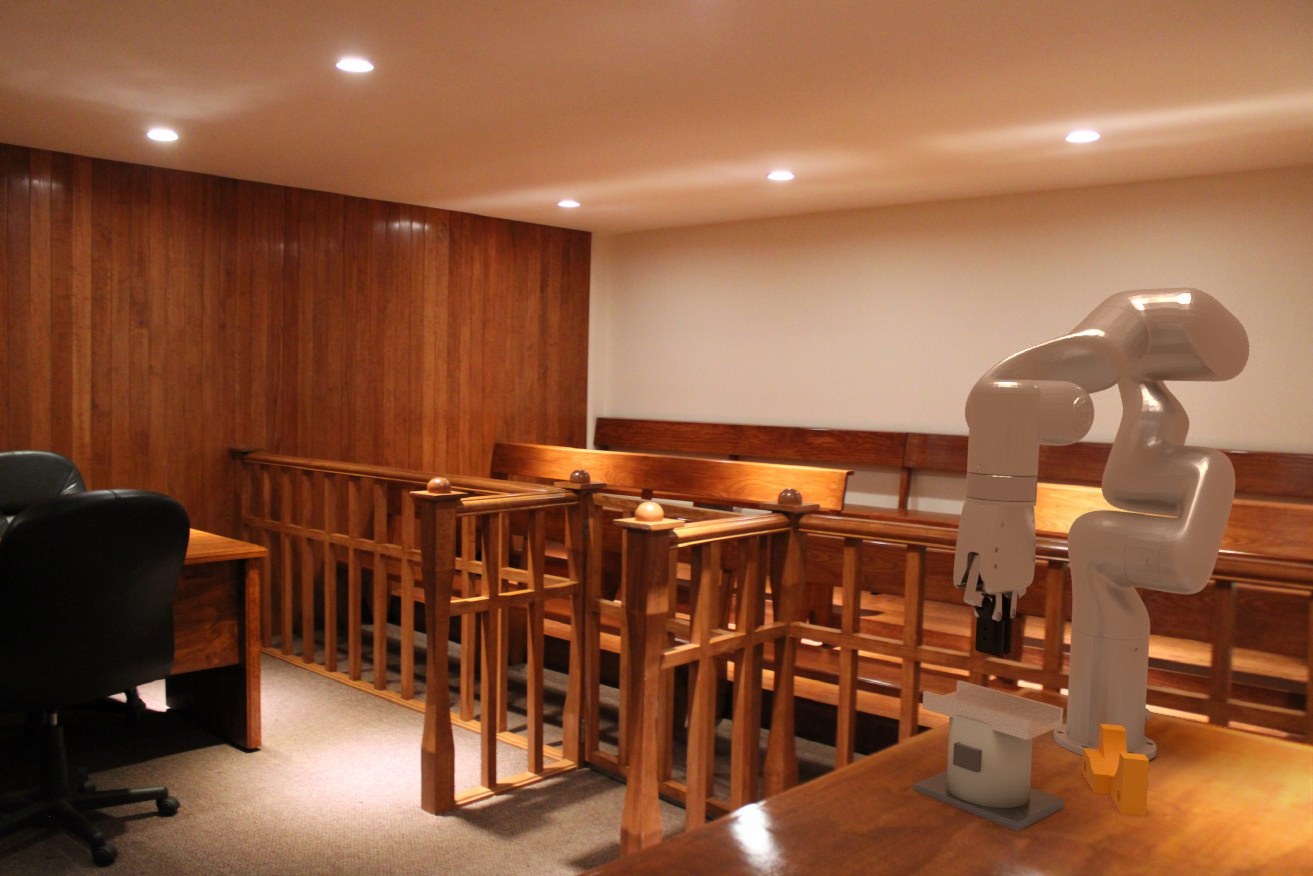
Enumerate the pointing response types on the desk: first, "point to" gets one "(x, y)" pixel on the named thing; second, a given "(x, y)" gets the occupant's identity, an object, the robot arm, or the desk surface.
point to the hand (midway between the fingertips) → (993, 651)
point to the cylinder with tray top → (992, 754)
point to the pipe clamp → (1117, 771)
